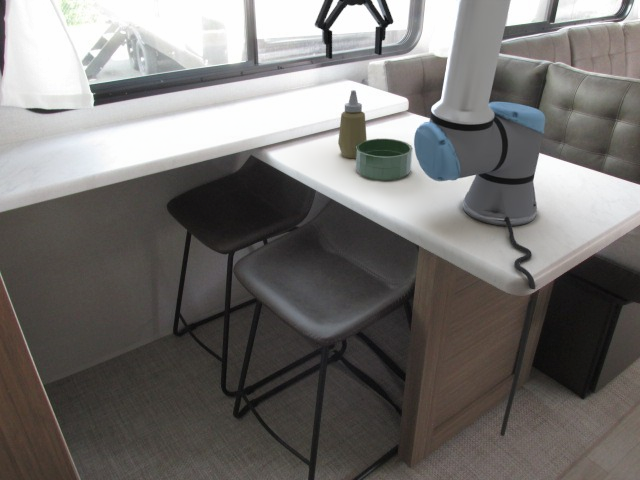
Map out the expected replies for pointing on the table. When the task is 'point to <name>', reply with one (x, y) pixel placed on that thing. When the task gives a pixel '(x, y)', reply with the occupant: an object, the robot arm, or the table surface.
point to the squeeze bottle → (352, 127)
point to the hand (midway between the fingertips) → (353, 56)
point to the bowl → (383, 159)
